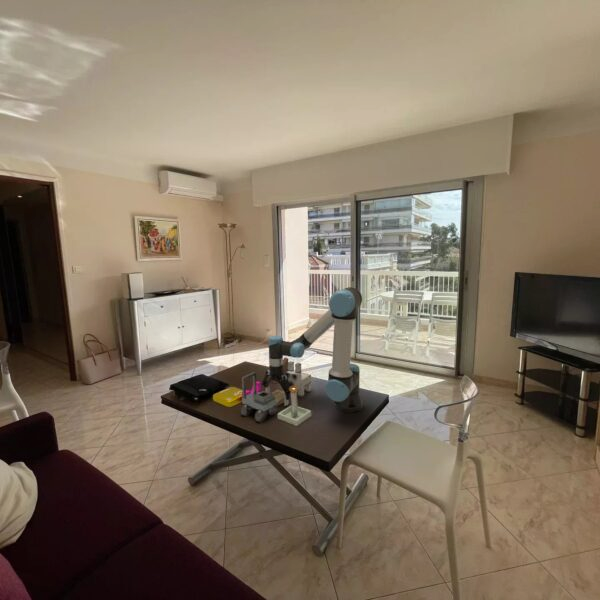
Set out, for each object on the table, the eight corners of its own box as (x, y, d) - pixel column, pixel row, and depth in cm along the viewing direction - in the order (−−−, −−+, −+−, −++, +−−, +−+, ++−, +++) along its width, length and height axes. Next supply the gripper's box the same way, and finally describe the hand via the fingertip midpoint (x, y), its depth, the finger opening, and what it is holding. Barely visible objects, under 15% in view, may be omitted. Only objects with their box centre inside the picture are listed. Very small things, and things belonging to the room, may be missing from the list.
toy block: (252, 406, 172) (252, 393, 171) (242, 404, 175) (241, 391, 173) (264, 394, 186) (264, 382, 185) (255, 393, 188) (254, 381, 187)
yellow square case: (232, 392, 190) (232, 385, 190) (249, 399, 181) (249, 391, 180) (211, 402, 179) (211, 394, 178) (229, 410, 169) (228, 401, 169)
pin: (300, 415, 159) (300, 387, 157) (295, 419, 156) (294, 390, 154) (293, 413, 162) (293, 384, 160) (287, 417, 159) (287, 388, 156)
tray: (311, 416, 160) (311, 410, 160) (296, 426, 151) (296, 421, 150) (292, 409, 167) (292, 404, 167) (277, 419, 158) (277, 413, 158)
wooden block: (288, 379, 208) (288, 352, 205) (275, 383, 201) (274, 356, 198) (285, 377, 211) (284, 351, 208) (272, 382, 204) (271, 355, 201)
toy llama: (313, 389, 192) (312, 357, 189) (296, 400, 178) (296, 366, 175) (303, 386, 196) (302, 355, 193) (286, 397, 182) (285, 363, 179)
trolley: (279, 413, 164) (278, 376, 161) (260, 425, 153) (258, 385, 150) (258, 405, 173) (257, 370, 170) (239, 416, 162) (237, 378, 159)
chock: (284, 402, 176) (284, 391, 175) (276, 407, 171) (276, 396, 170) (278, 399, 179) (277, 389, 178) (269, 404, 174) (269, 394, 173)
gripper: (298, 367, 167) (299, 405, 171) (264, 358, 182) (265, 393, 185) (289, 371, 161) (290, 410, 165) (254, 361, 176) (255, 397, 180)
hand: (276, 401), depth 175 cm, fingers open, 13 cm apart
